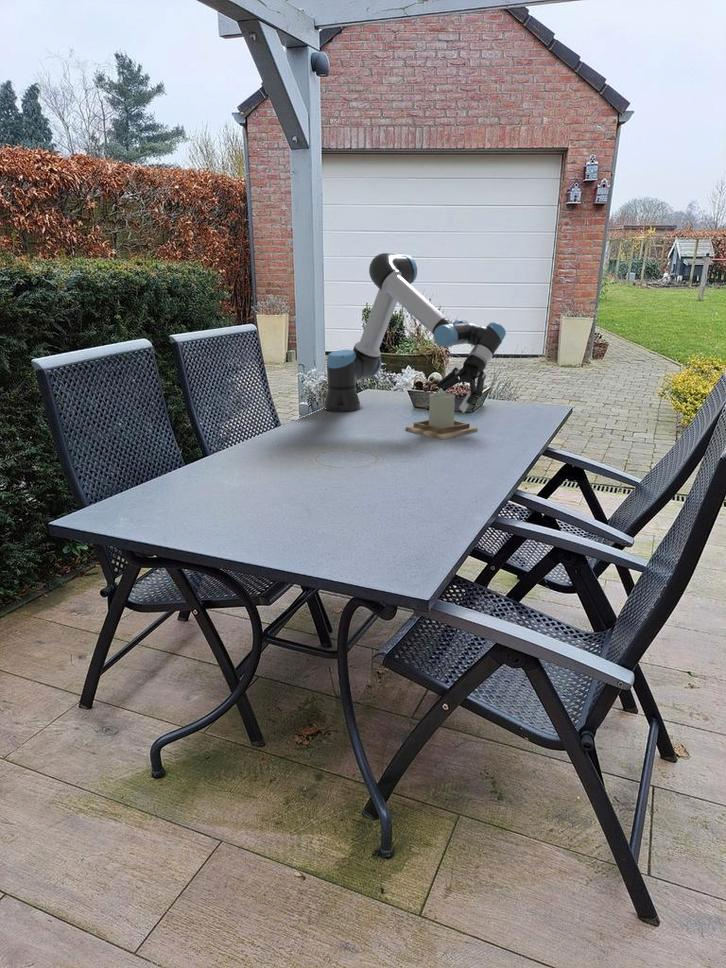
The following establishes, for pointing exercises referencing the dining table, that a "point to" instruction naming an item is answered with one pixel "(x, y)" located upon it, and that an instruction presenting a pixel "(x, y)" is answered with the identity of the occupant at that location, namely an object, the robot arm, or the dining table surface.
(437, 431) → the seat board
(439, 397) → the can
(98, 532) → the dining table surface
